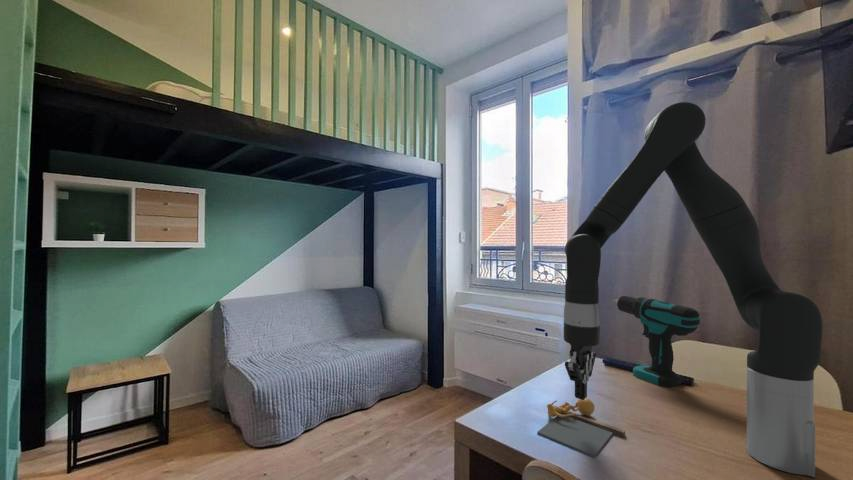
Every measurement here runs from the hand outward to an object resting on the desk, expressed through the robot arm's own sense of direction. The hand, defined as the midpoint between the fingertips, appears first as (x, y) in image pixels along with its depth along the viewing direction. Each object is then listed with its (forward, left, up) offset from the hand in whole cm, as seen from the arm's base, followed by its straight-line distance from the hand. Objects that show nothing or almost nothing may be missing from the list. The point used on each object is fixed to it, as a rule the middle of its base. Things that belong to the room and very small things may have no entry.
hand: (580, 397), depth 79 cm
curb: (0, -4, -7) cm, 8 cm away
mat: (0, +3, -7) cm, 8 cm away
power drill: (-4, -48, -7) cm, 49 cm away
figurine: (0, -9, -6) cm, 11 cm away
